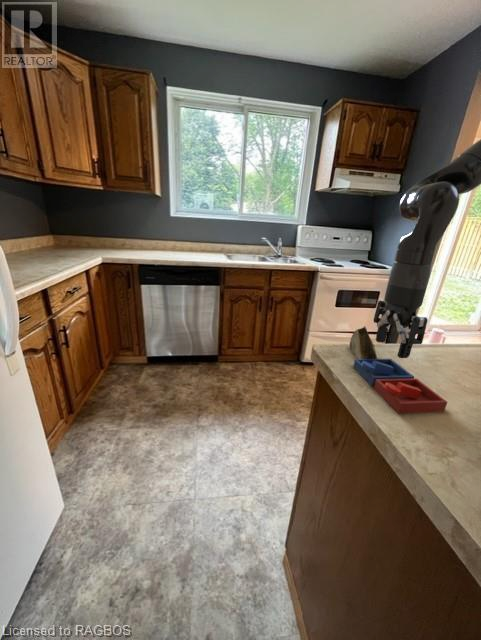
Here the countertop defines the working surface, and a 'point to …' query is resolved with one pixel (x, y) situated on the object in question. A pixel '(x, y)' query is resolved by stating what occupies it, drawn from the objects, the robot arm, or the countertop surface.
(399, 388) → the red spoon
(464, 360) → the countertop surface
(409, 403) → the red tray
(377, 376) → the blue tray
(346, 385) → the countertop surface
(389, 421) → the countertop surface
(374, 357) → the rock
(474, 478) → the countertop surface
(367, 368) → the blue spoon
